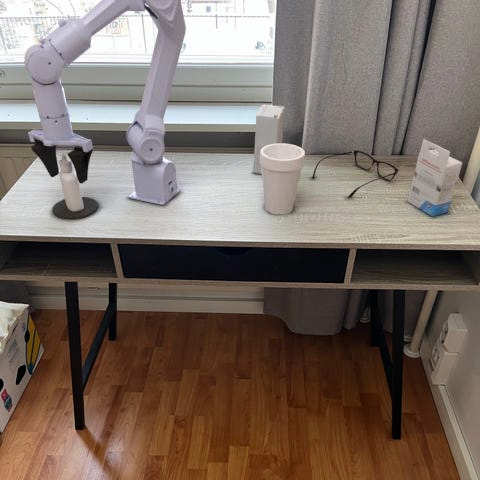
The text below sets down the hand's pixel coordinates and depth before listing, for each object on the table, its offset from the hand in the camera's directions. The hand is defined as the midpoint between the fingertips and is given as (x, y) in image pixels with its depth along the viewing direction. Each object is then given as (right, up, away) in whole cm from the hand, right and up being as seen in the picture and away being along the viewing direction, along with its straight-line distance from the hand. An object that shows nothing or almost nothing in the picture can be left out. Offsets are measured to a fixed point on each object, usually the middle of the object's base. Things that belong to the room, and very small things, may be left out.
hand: (69, 178), depth 108 cm
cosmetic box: (+44, +9, +22) cm, 50 cm away
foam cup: (+46, -5, +6) cm, 47 cm away
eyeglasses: (+65, +4, +17) cm, 68 cm away
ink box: (+80, -5, +6) cm, 80 cm away
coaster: (0, -6, +5) cm, 7 cm away
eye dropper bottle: (0, -5, +4) cm, 7 cm away
